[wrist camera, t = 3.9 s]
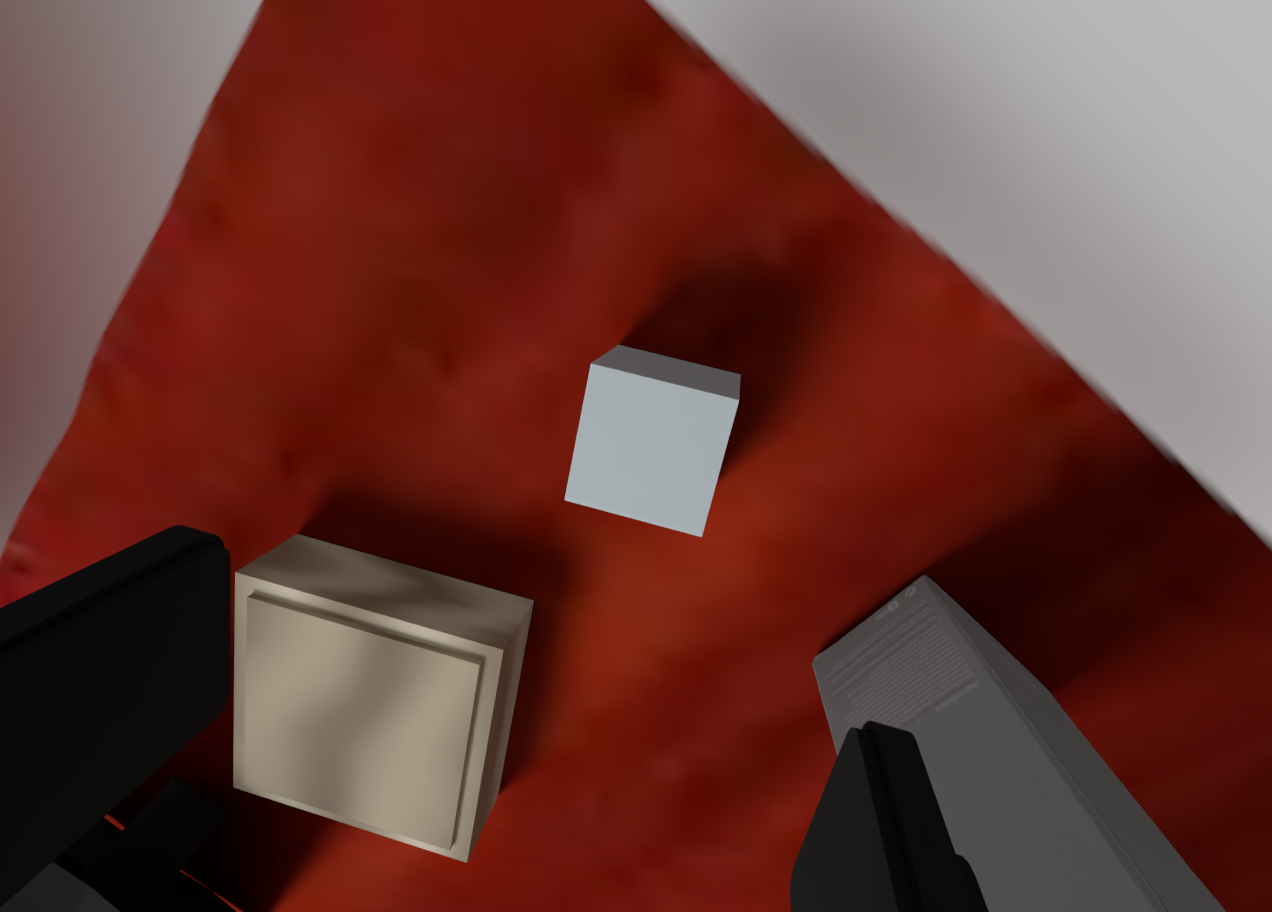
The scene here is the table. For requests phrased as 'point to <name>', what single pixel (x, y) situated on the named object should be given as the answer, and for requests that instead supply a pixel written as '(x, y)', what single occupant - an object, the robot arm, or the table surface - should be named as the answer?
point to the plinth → (374, 691)
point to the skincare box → (1003, 764)
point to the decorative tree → (132, 862)
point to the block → (652, 438)
